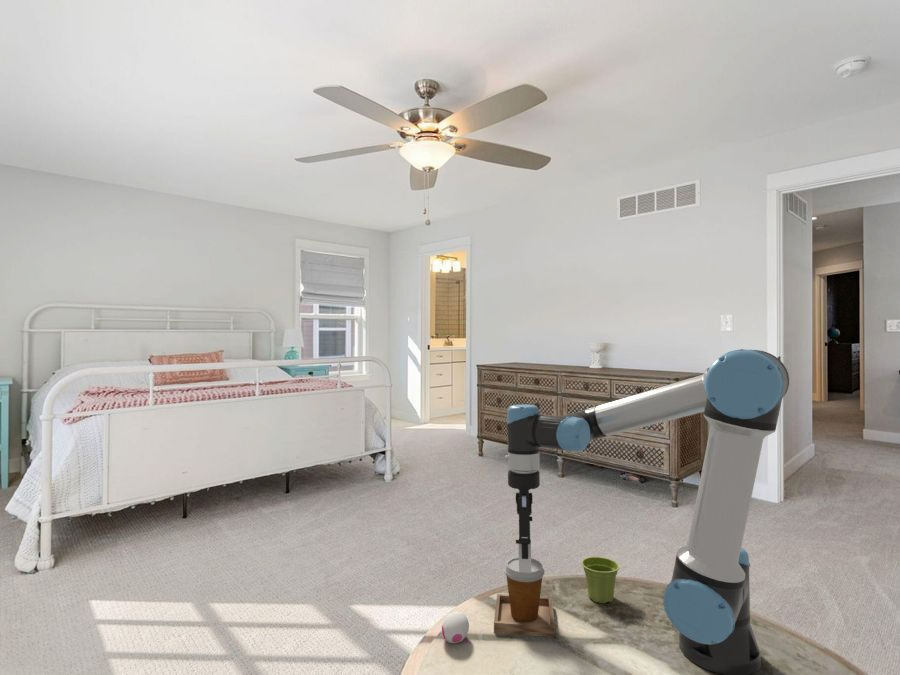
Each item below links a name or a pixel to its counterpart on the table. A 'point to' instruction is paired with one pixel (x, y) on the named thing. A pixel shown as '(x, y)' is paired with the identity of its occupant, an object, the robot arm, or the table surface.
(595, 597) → the plant pot
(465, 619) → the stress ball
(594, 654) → the table surface
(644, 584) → the table surface
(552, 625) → the tray
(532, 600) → the disposable coffee cup
